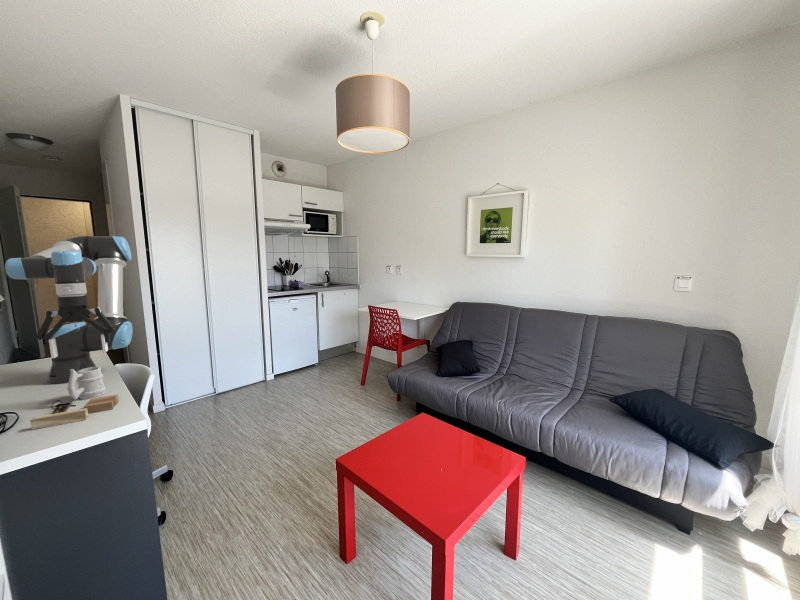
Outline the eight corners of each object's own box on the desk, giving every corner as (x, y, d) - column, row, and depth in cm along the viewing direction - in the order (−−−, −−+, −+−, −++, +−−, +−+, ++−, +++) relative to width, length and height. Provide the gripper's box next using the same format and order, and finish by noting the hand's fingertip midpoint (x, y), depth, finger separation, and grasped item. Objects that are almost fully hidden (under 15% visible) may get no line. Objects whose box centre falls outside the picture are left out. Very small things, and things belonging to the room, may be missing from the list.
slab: (92, 407, 111) (91, 398, 111) (118, 402, 115) (117, 394, 114) (84, 415, 105) (83, 406, 105) (112, 410, 109) (111, 401, 108)
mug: (112, 390, 125) (107, 360, 123) (82, 404, 113) (77, 371, 111) (92, 391, 125) (87, 360, 123) (60, 404, 113) (55, 371, 111)
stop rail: (35, 426, 98) (33, 417, 97) (88, 417, 103) (87, 408, 103) (31, 429, 96) (30, 420, 96) (86, 419, 102) (84, 410, 101)
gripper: (15, 299, 105) (26, 362, 108) (115, 293, 117) (122, 351, 119) (27, 297, 112) (37, 357, 114) (120, 292, 123) (127, 346, 126)
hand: (80, 354), depth 117 cm, fingers open, 13 cm apart
